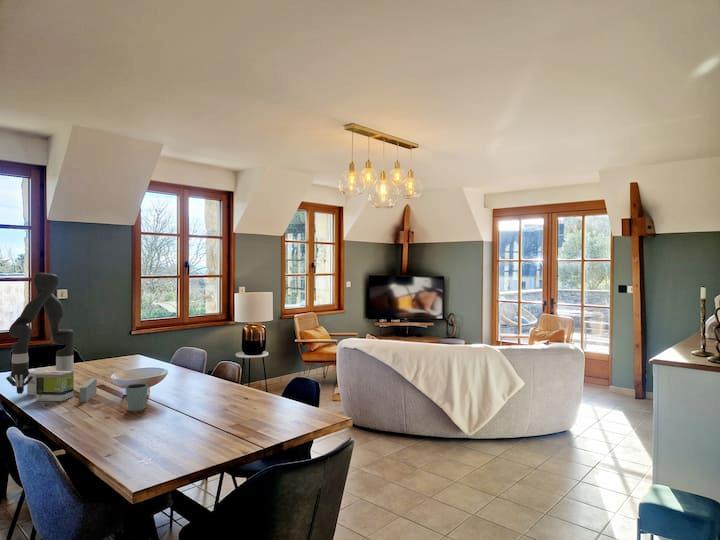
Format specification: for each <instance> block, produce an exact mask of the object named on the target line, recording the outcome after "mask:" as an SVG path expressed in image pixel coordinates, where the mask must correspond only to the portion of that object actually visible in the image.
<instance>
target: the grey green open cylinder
mask: <svg viewBox="0 0 720 540" xmlns="http://www.w3.org/2000/svg"><path fill="white" fill-rule="evenodd" d="M148 386H149V385H148V384H147V383H142V382H140V383H139V382H138V383H133V384H129V385H126V386H125V392H126V402H127V410H128V411H129V412H140V411H139V410H141V411H144V410H146V409H147V398H148V397H147V396H148ZM145 408H146V409H145Z"/></svg>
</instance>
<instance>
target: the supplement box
mask: <svg viewBox="0 0 720 540" xmlns="http://www.w3.org/2000/svg"><path fill="white" fill-rule="evenodd" d="M43 372H46V370H39V369H38V370H33V371H29V373H30V374H31V375H34V377H33V378H32V380H31V381H30V382H29V383H28V384H27V385H26V387H27V388H26V390H27V392H26V395H28V396H29V395H31V396H35V397H36V374H39V373H43ZM26 379H27V380H28V376H27V378H26ZM27 380H26V381H27Z"/></svg>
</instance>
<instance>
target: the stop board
mask: <svg viewBox="0 0 720 540" xmlns="http://www.w3.org/2000/svg"><path fill="white" fill-rule="evenodd" d="M97 379H98V378H96V377H95V378H93V377H91V378H89V380H87V381H86V382H85V383H84V384H82V385H81V386H80V387H79V403H80V402H82V403H88V402H89V400H90V399H91V398H92V397H93V396H94V395H95V394H96V393H97V391H98V390H97V387H98V385H97V381H98V380H97Z"/></svg>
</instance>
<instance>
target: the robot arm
mask: <svg viewBox="0 0 720 540" xmlns="http://www.w3.org/2000/svg"><path fill="white" fill-rule="evenodd" d="M59 282H60V279H59V276H58V275H57V274H54V273H47V272H37V273H35V275H34V277H33V285H34V287H35V290H36V292H37V293H38V295H37V296H35V297H34V298H33V299H32V300H30V301H28V303H27V304H26V305H25V307H24V309H23V310H22V312H21V314H20V315H19V317H17V319H15V321H14V322H12V324H11V325H10V327H9V329H8V334H9V336H10V337H12V338H16V339H17V338H18V340H17V341H16V342H13V344H12V347H11V348H12V349H11V351H12V352H11V361H10V362H11V372H10V375H8V376H7V377H5V380H6V381H8V382H9V384H11V386H12V387H16V393H17V394H18V395H21V394H23V393H24V391H25V388H24V387H25V386H27V384H28V383H29V382H30V381H31V380H32V378H33V377H34V375H31V374H30V373H29V372H30V371H29V367H30V366H29V359H30V358H29V343H30V340H31V337H32V328H31V326H29V324H31V323H33V322H35V320H36V317H38V314H39V312H40V310H41V309H42V308H43V310H44V312H45V315H46V317H47V321H48V324H49V326H50V327H49V328H50V332H51V336H52V340H53V343H54V344H55V345H65V347H64V348H62V349H59V350H56V353H55V363H56V364H55V371H73V372H74V352H75V338H76V337H75V331H74V330H73V329H61V328H60V323H61V321H62V320H63V318H64V317H65V311H64V307H63V304H62V302H61V300H60V299H58V298H57V297H56V295H54V292H55V290H56V289H57V287H58V285H59ZM27 377H28V380H26V379H27Z"/></svg>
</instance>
